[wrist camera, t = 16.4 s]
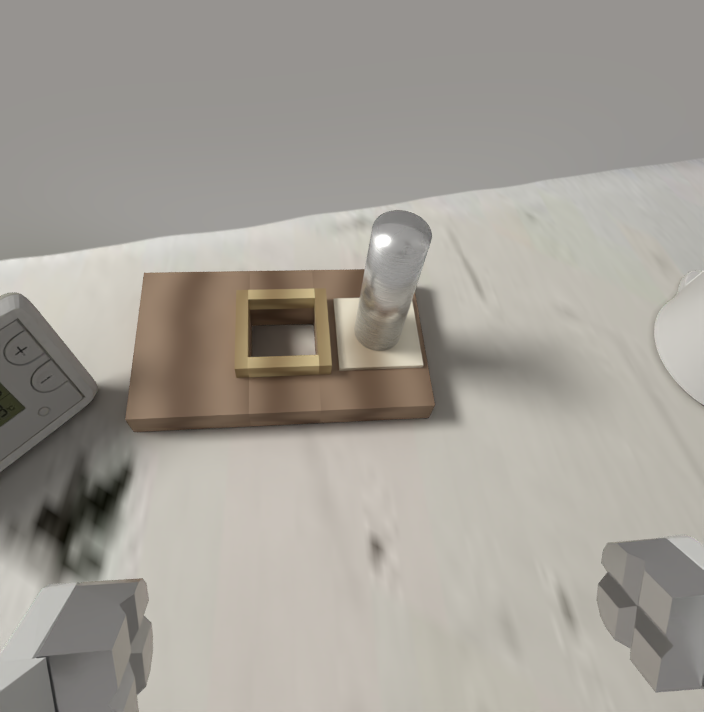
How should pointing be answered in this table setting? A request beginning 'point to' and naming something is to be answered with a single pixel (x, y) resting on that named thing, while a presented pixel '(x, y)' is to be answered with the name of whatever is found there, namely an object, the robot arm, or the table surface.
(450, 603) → the table surface
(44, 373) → the digital clock
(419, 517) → the table surface
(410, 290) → the steel pin
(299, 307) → the wooden peg board
